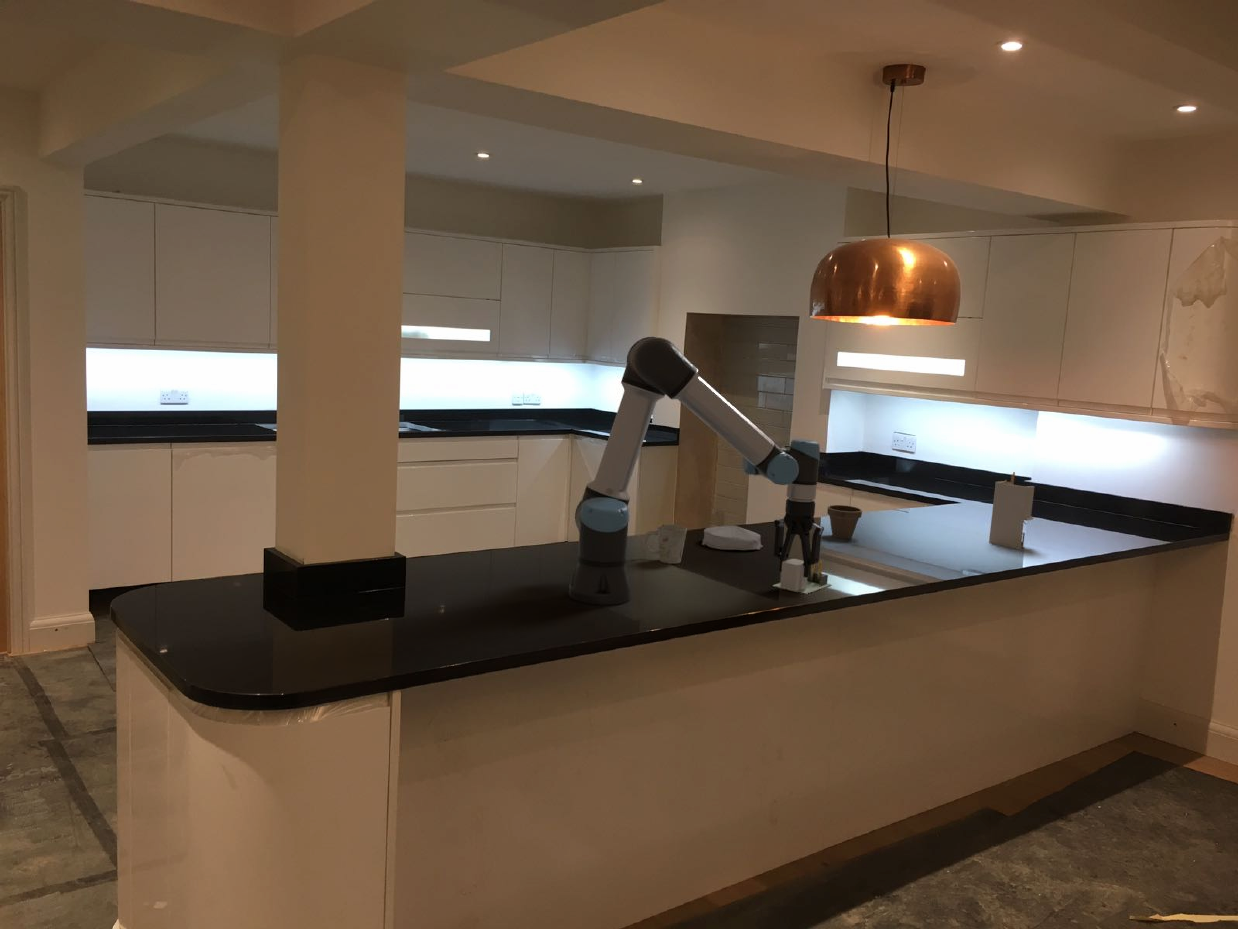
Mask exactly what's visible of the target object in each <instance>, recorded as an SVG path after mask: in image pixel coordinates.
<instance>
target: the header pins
mask: <svg viewBox="0 0 1238 929" xmlns="http://www.w3.org/2000/svg"><path fill="white" fill-rule="evenodd" d="M817 564H818V565H817V573H818V574H817V582H816V581H814V573H815V572H816V564H812V565H811V576H810V580H807V581H809V582H813V583H818V584H819V583H820V576H821V574H822V572H823V571H822V569H823V561H822V560H819V562H818V563H817Z"/></svg>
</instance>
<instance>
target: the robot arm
mask: <svg viewBox="0 0 1238 929" xmlns="http://www.w3.org/2000/svg"><path fill="white" fill-rule="evenodd" d="M620 384H621V386H622V387H623V393H622V397H621V400H620V402H619V407H618V408H617V412H616V415H615V418H614V421H613V423H612V427H611V430H610V433H609V436H608V439H607V442H606V445H605V448H604V451H603V454H602V456H601V460H600V463H599V466H598V469H597V472H596V475H595V477H594V479H593V480H592V481H591V482H589V483H587V484H586V487H585V490H584V493H583V495H582V498H581V500H580V501H579V503H578V505H577V506H576V509H575V513H574V519H575V520H574V522H575V525H576V528H577V529H578V533H579V534H578V535H579V536H578V552H577V553H578V554H577V565H576V568H575V571H574V573H573V575H572V578H571V582H570V583H569V587H568V589H569V590H568V597H570V598H571V599H572V600H575V601H576V602H577V601H578V602H580V603H583V604H584V603H586V604H591V605H603V606H604V605H609V606H610V605H611V606H612V605H618V604H624V603H627V602H629V601H630V600H631V598H632V587H631V585H630V582H629V581H630V580H629V576H628V571H627V568H626V567H627V566H626V565H627V564H626V561H627V548H628V534H629V533H628V530H629V522H630V514H629V513H630V512H629V510H630V509H629V507H628V506H629V503H630V500H631V498H630V496H629V493H628V487H629V485H630V481H631V478H632V476H633V474H634V473H633V472H634V470H635V467H636V463H637V460H638V457H639V454H640V452H641V449H642V447H643V443H644V439H645V438H646V433H647V431H648V428H649V427H650V426H649V425H650V421H651V419H652V416H653V414H654V412H655V411H654V410H655V407H656V404H657V402H659V401H660V400H662V399H664V398H665V397H666V396H667V397H668V398H669V399H670V400H678V401H679V402H680V403H681V404H683V406H684V407H686V408H687V409H688V410H689V411H690V412H692V413H693V415H694V416H696V417H698V419H700V420H701V421H702V422H703V423H704V424H705V425H707V427H709V428H710V429H711V430H712V431H713V432H714V433H716V434H717V435H718V436H719V437H720V438H722V439H723V441H724V442H726V443H727V444H728V445H729V446H730V447H732V448H733V449H734V450H735V451H737V452H738V453H739V455H741V456H742V468H743V472H744V473H745V474H746V475H752V476H763V477H764V478H766V479H768V480H770V481H771V482H772V483H773V484H775V485H779V486H787V487H786V494H785V495H786V500H785V515H784V517H783V518H778V519H775V520H774V521H773V524H774V526H775V527H774V528H775V534H774V544H773V546H774V548H773V556H774V557H775V558H776V557H777V558H778V559H779V572H780V573H781V572H782V562H784V561H787V560H789V559H790V557H789V556H790V553H791V549H792V546H793V543H794V540H795V537H796V535H798V536H799V539H800V542H801V543H800V544H801V551H802V552H801V553H802V559H803V560H802V561H804V563H803V564H802V565H801V569H800V580H799V589H800V590H802V589H805V588H806V585H807V577H810V573H811V565H812V564H815V565H816V564H818V563H819V561H820V553H821V552H820V551H821V541H822V536H823V532H824V530H825V528H824V526H822V525H821V526H820V525H818V524H817V523H816V521H815V519H814V516H815V511H816V501H815V499H816V498H817V488H818V487H817V486H818V484H817V483H818V475H819V468H820V467H819V466H820V465H819V464H820V461H821V459H820V457H821V456H820V449H821V448H820V446H821V445H820V444H819V442H818V441H815V440H812V439H811V440H810V439H801V438H800V439H797V438H796V439H792V440H791V441H790V445H789V446H784V447H783V446H779V445H777V444H776V443H775V442H774V441H773V440H772V439H771V438H770V437H769V436H767V435H766V434H765V432H763V431H762V430H761V429H759V427H758V426H756V425H755V424H754V423H753V422H752V421H751V420H750V419H749V418H748V417H746V416H745V415H744V414H743V413H742V412H741V411H740V410H738V409H737V408H736V407H735V406H733V404H731V403H730V401H728V400H727V399H726V398H725V397H723V396H722V394H720V393H719V392H718V391H717V390H716V389H715V388H714V387H712V386H711V385H710V384H709V383H707V381H705V379H704V378H702V376H700V375H699V369H698V368H697V367H696V366H695V365H694V364H693V363H691V361H690V360H689V359H687V357H686V356H685V355H684V354H683V353H682V352H681V351H680V349H679V348H678V347H677V346H676V345H675V344H674V342H671V340H668V339H666V338H663V337H658V336H657V337H656V336H646V337H643V338H641V339H639V340H637V341H636V342H634V343H633V345H632V346H631V347H630V348H629V351H628V353H627V355H626V365H625V369H624V372H623V375H622V378H621V381H620ZM785 526H786V528H787V530H786V532H785ZM811 530H812V533H813V534H812V540H811V539H810V537H811V533H810V531H811ZM784 534H785V539H784ZM810 540H811V541H812V542H810Z"/></svg>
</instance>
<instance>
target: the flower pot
mask: <svg viewBox="0 0 1238 929" xmlns="http://www.w3.org/2000/svg"><path fill="white" fill-rule="evenodd" d="M826 514H827V515H828V516H829V520H830V528H831V534H832V537H833V538H837V539H842V540H849V539H852V538H853V535H854V533H855V530H856V527H857V524H858V522H859V519H860V518H862V514H863V510H862V509H861V508H859V507H856V506H852V505H845V504H844V505H843V504H834V505H829V506H828V507H827V513H826Z"/></svg>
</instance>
